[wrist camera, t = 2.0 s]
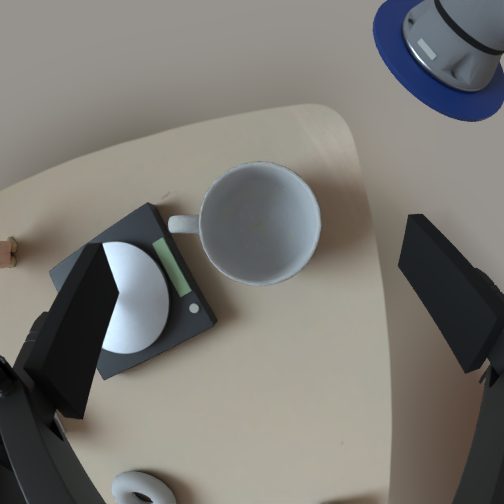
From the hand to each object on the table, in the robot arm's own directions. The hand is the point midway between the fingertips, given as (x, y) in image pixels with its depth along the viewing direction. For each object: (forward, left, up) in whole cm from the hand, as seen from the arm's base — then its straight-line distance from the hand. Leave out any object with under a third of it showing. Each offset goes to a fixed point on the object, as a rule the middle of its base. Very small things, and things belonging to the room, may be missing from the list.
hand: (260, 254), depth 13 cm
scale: (+16, -4, -22) cm, 28 cm away
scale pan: (+16, -4, -19) cm, 26 cm away
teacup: (0, -4, -23) cm, 23 cm away
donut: (+32, +22, -23) cm, 45 cm away
